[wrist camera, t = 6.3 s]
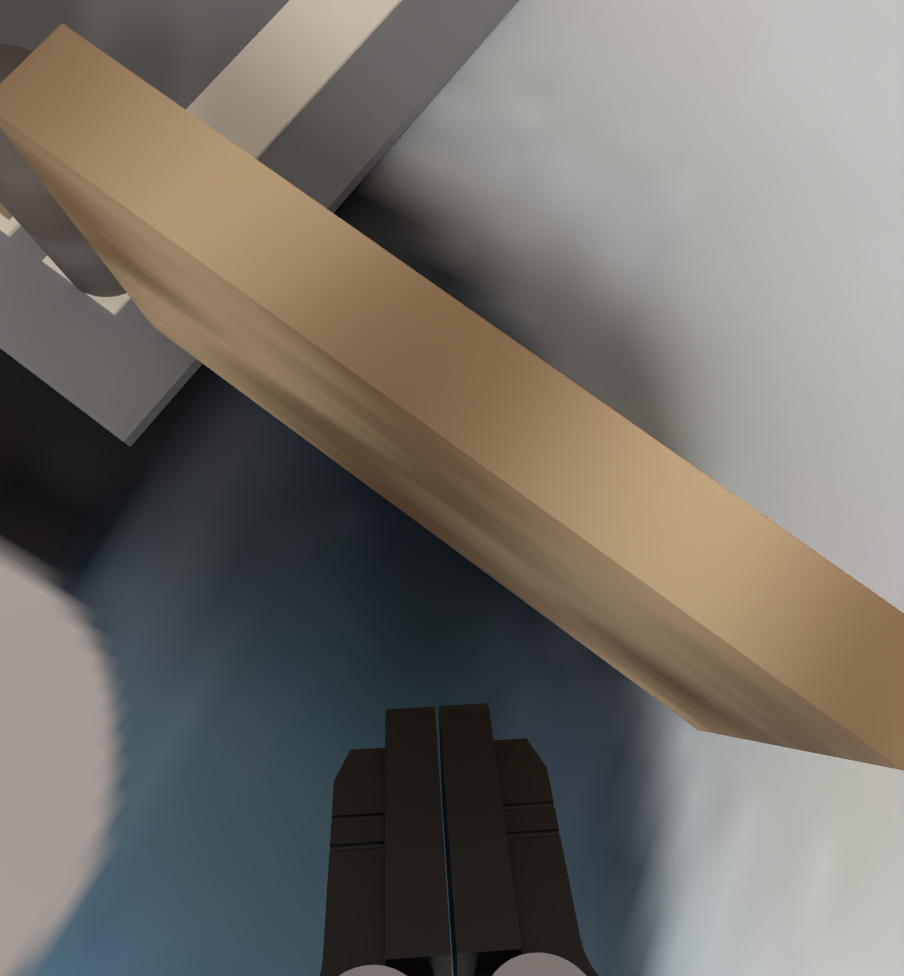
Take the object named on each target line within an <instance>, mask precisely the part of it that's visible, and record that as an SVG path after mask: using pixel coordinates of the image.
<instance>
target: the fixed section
mask: <svg viewBox="0 0 904 976" xmlns="http://www.w3.org/2000/svg"><path fill="white" fill-rule="evenodd" d="M31 53H32V51H30V50H27V49H25V48H22V47H19V46H15V45H9V44H0V83H2V82H3V81H4V80H5V79H6V78H7V77H8V76H9V75H10V74H11V73H12V72H13V71H14V70H15V69H16V68H17V67H18V66H19V65H20V64H21V63H22V62H23V61H24V60H25V59H26V58H27V57H28V56H29V55H30V54H31ZM0 214H1V215H2V216H4V217H5V218H6V219H8V220H10V219H11V218H12V217H14V218H15V219H16V220H17V222H18V223H19V224H20V225H21V226H22V227H23V228H24V229H25V231H26V232H27V233H28V234H29V235H30V236H31V237H32V238H33V240H34V241H35V242H36V243H37V244H38V245H39V246H40V247H41V249H42V250H43V251H44V252H45V253H46V254H47V255H48V256H49V258H50V259H51V260H52V261H53V262H54V263H55V264H56V265H57V267H58V268H59V269H60V270H61V271H62V272H63V273H64V274H65V276H66V277H67V278H68V279H69V280H70V281H71V282H72V283H73V285H74V286H75V287H76V288H78V289H79V290H80V291H81V292H83V293H85V294H86V293H87V294H90V295H93V296H98V297H114V296H119V295H122V294H125V293H127V292H126V291H125V290H124V288H123V287H122V286H121V284H120V283H119V282H118V281H117V279H116V278H115V277H114V275H113V274H112V273H111V271H110V270H109V269H108V268H107V266H106V265H105V264H104V262H103V261H102V260H101V258H100V257H99V256H98V255H97V253H96V252H95V251H94V249H93V248H92V247H91V245H90V244H89V243H88V242H87V240H86V239H85V238H84V236H83V235H82V234H81V232H80V231H79V230H78V229H77V227H76V226H75V225H74V223H73V222H72V221H71V219H70V218H69V217H68V216H67V214H66V213H65V212H64V210H63V209H62V208H61V206H60V205H59V204H58V202H57V201H56V200H55V199H54V197H53V196H52V195H51V193H50V192H49V191H48V189H47V188H46V187H45V186H44V184H43V183H42V182H41V180H40V179H39V178H38V176H37V175H36V174H35V173H34V171H33V170H32V169H31V167H30V166H29V165H28V163H27V162H26V161H25V160H24V158H23V157H22V156H21V154H20V153H19V152H18V150H17V149H16V148H15V147H14V145H13V144H12V143H11V141H10V140H9V139H8V137H7V136H6V135H5V133H4V132H3V131H2V130H1V128H0Z"/></svg>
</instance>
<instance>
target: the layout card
mask: <svg viewBox="0 0 904 976" xmlns="http://www.w3.org/2000/svg"><path fill="white" fill-rule="evenodd" d="M518 1H519V0H0V44H9V45H15V46H19V47H22V48H25V49H27V50H30V51H32V52H33V51H34V50H35V49H36V48H37V47H38V46H39V45H40V44H41V43H42V42H43V41H44V40H45V39H46V38H47V37H49V36H50V35H51V34H52V33H53V32H54V31H55V30H56V29H57V28H58V27H59V26H60V25H61V24H62V23H63V24H64V25H65V26H67V27H68V28H70V29H71V30H73V31H74V32H75V33H77V34H78V35H80V36H81V37H83V38H84V39H85V40H87V41H88V42H90V43H91V44H93V45H94V46H95V47H97V48H98V49H100V50H101V51H103V52H104V53H105V54H107V55H108V56H110V57H111V58H113V59H114V60H115V61H117V62H118V63H120V64H121V65H123V66H124V67H125V68H127V69H128V70H130V71H131V72H132V73H134V74H135V75H137V76H138V77H140V78H141V79H142V80H144V81H145V82H147V83H148V84H150V85H151V86H152V87H154V88H155V89H157V90H158V91H160V92H161V93H162V94H164V95H165V96H167V97H168V98H170V99H171V100H172V101H174V102H175V103H177V104H178V105H180V106H181V107H182V108H184V109H185V110H187V111H188V112H190V113H191V114H192V115H194V116H195V117H197V118H198V119H199V120H201V121H202V122H204V123H205V124H207V125H208V126H209V127H211V128H212V129H214V130H215V131H217V132H218V133H219V134H221V135H222V136H224V137H225V138H227V139H228V140H229V141H231V142H232V143H234V144H235V145H237V146H238V147H239V148H241V149H242V150H244V151H245V152H247V153H248V154H249V155H251V156H252V157H254V158H255V159H257V160H258V161H259V162H261V163H262V164H264V165H265V166H266V167H268V168H269V169H271V170H272V171H274V172H275V173H276V174H278V175H279V176H281V177H282V178H284V179H285V180H286V181H288V182H289V183H291V184H292V185H294V186H295V187H296V188H298V189H299V190H301V191H302V192H304V193H305V194H306V195H308V196H309V197H311V198H312V199H314V200H315V201H316V202H318V203H319V204H321V205H322V206H324V207H325V208H326V209H328V210H329V211H331V212H332V213H334V212H335V211H336V210H337V209H338V208H339V206H340V205H341V204H342V203H343V202H344V201H345V200H346V198H347V197H348V196H349V195H350V194H351V193H352V191H353V190H354V189H355V188H356V187H357V186H358V185H359V183H360V182H361V181H362V180H363V179H364V178H365V176H366V175H367V174H368V173H369V172H370V171H371V170H372V168H373V167H374V166H375V165H376V164H377V163H378V162H379V160H380V159H381V158H382V157H383V156H384V155H385V153H386V152H387V151H388V150H389V149H390V148H391V147H392V145H393V144H394V143H395V142H396V141H397V140H398V139H399V137H400V136H401V135H402V134H403V133H404V132H405V130H406V129H407V128H408V127H409V126H410V125H411V124H412V122H413V121H414V120H415V119H416V118H417V117H418V116H419V114H420V113H421V112H422V111H423V110H424V109H425V107H426V106H427V105H428V104H429V103H430V102H431V101H432V99H433V98H434V97H435V96H436V95H437V94H438V93H439V91H440V90H441V89H442V88H443V87H444V86H445V84H446V83H447V82H448V81H449V80H450V79H451V78H452V76H453V75H454V74H455V73H456V72H457V71H458V70H459V68H460V67H461V66H462V65H463V64H464V63H465V61H466V60H467V59H468V58H469V57H470V56H471V55H472V53H473V52H474V51H475V50H476V49H477V48H478V47H479V45H480V44H481V43H482V42H483V41H484V40H485V38H486V37H487V36H488V35H489V34H490V33H491V32H492V30H493V29H494V28H495V27H496V26H497V25H498V24H499V22H500V21H501V20H502V19H503V18H504V17H505V15H506V14H507V13H508V12H509V11H510V10H511V9H512V7H513V6H514V5H515V4H516V3H517V2H518ZM0 348H1V349H2V350H3V351H5V352H6V353H7V354H9V355H10V356H11V357H12V358H14V359H15V360H16V361H18V362H19V363H20V364H22V365H23V366H24V367H26V368H27V369H28V370H30V371H31V372H32V373H33V374H35V375H36V376H37V377H39V378H40V379H41V380H43V381H44V382H45V383H47V384H48V385H49V386H51V387H52V388H53V389H55V390H56V391H57V392H58V393H60V394H61V395H62V396H64V397H65V398H66V399H68V400H69V401H70V402H72V403H73V404H74V405H76V406H77V407H78V408H79V409H81V410H82V411H83V412H85V413H86V414H87V415H89V416H90V417H91V418H93V419H94V420H95V421H97V422H98V423H99V424H101V425H102V426H103V427H104V428H106V429H107V430H108V431H110V432H111V433H112V434H114V435H115V436H116V437H118V438H119V439H120V440H122V441H123V442H124V443H125V444H127V445H128V446H129V447H131V446H132V444H133V443H134V442H135V441H136V440H137V439H138V438H139V436H140V435H141V434H142V433H143V432H144V431H145V430H146V428H147V427H148V426H149V425H150V424H151V423H152V421H153V420H154V419H155V418H156V417H157V416H158V415H159V413H160V412H161V411H162V410H163V409H164V408H165V407H166V405H167V404H168V403H169V402H170V401H171V400H172V398H173V397H174V396H175V395H176V394H177V393H178V392H179V390H180V389H181V388H182V387H183V386H184V385H185V384H186V382H187V381H188V380H189V379H190V378H191V377H192V375H193V374H194V373H195V372H196V371H197V370H198V369H199V367H200V366H201V365H202V364H203V363H201V362H200V361H198V360H197V359H196V358H194V357H193V356H192V355H190V354H189V353H188V352H186V351H185V350H184V349H182V348H181V347H180V346H178V345H177V344H175V343H174V342H173V341H171V340H170V339H169V338H167V337H166V336H165V335H163V334H162V333H161V332H159V331H158V330H157V329H155V328H154V327H153V326H152V325H151V324H150V322H149V321H148V320H147V318H146V317H145V316H144V314H143V313H142V312H141V311H140V309H139V308H138V307H137V305H136V304H135V303H134V301H133V300H132V299H131V298H130V296H129V295H128V294H127V293H125V294H122V295H119V296H114V297H98V296H93V295H90V294H87V293H86V294H85V293H83V292H81V291H80V290H79V289H78V288H76V287H75V286H74V285H73V283H72V282H71V281H70V280H69V279H68V278H67V277H66V276H65V274H64V273H63V272H62V271H61V270H60V269H59V268H58V267H57V265H56V264H55V263H54V262H53V261H52V260H51V259H50V258H49V256H48V255H47V254H46V253H45V252H44V251H43V250H42V249H41V247H40V246H39V245H38V244H37V243H36V242H35V241H34V240H33V238H32V237H31V236H30V235H29V234H28V233H27V232H26V231H25V229H24V228H23V227H22V226H21V225H20V224H19V223H18V222H17V220H16V219H15V218H14V217H12V218H11V219H10V220H8V219H6V218H5V217H4V216H2V215H1V214H0Z"/></svg>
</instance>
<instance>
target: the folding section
mask: <svg viewBox="0 0 904 976" xmlns="http://www.w3.org/2000/svg"><path fill="white" fill-rule="evenodd" d="M0 128H1V130H2V131H3V132H4V133H5V135H6V136H7V137H8V139H9V140H10V141H11V143H12V144H13V145H14V147H15V148H16V149H17V150H18V152H19V153H20V154H21V156H22V157H23V158H24V160H25V161H26V162H27V163H28V165H29V166H30V167H31V169H32V170H33V171H34V173H35V174H36V175H37V176H38V178H39V179H40V180H41V182H42V183H43V184H44V186H45V187H46V188H47V189H48V191H49V192H50V193H51V195H52V196H53V197H54V199H55V200H56V201H57V202H58V204H59V205H60V206H61V208H62V209H63V210H64V212H65V213H66V214H67V216H68V217H69V218H70V219H71V221H72V222H73V223H74V225H75V226H76V227H77V229H78V230H79V231H80V232H81V234H82V235H83V236H84V238H85V239H86V240H87V242H88V243H89V244H90V245H91V247H92V248H93V249H94V251H95V252H96V253H97V255H98V256H99V257H100V258H101V260H102V261H103V262H104V264H105V265H106V266H107V268H108V269H109V270H110V271H111V273H112V274H113V275H114V277H115V278H116V279H117V281H118V282H119V283H120V284H121V286H122V287H123V288H124V290H125V291H126V292H127V294H128V295H129V296H130V298H131V299H132V300H133V301H134V303H135V304H136V305H137V307H138V308H139V309H140V311H141V312H142V313H143V314H144V316H145V317H146V318H147V320H148V321H149V322H150V324H151V325H152V326H153V327H154V328H155V329H157V330H158V331H159V332H161V333H162V334H163V335H165V336H166V337H167V338H169V339H170V340H171V341H173V342H174V343H175V344H177V345H178V346H180V347H181V348H182V349H184V350H185V351H186V352H188V353H189V354H190V355H192V356H193V357H194V358H196V359H197V360H198V361H200V362H201V363H203V364H204V365H205V366H207V367H208V368H209V369H211V370H212V371H213V372H215V373H216V374H217V375H219V376H220V377H221V378H223V379H224V380H226V381H227V382H228V383H230V384H231V385H232V386H234V387H235V388H236V389H238V390H239V391H240V392H242V393H243V394H244V395H246V396H247V397H248V398H250V399H251V400H253V401H254V402H255V403H257V404H258V405H259V406H261V407H262V408H263V409H265V410H266V411H267V412H269V413H270V414H271V415H273V416H274V417H276V418H277V419H278V420H280V421H281V422H282V423H284V424H285V425H286V426H288V427H289V428H290V429H292V430H293V431H294V432H296V433H297V434H299V435H300V436H301V437H303V438H304V439H305V440H307V441H308V442H309V443H311V444H312V445H313V446H315V447H316V448H317V449H319V450H320V451H322V452H323V453H324V454H326V455H327V456H328V457H330V458H331V459H332V460H334V461H335V462H336V463H338V464H339V465H340V466H342V467H343V468H345V469H346V470H347V471H349V472H350V473H351V474H353V475H354V476H355V477H357V478H358V479H359V480H361V481H362V482H363V483H365V484H366V485H368V486H369V487H370V488H372V489H373V490H374V491H376V492H377V493H378V494H380V495H381V496H382V497H384V498H385V499H386V500H388V501H389V502H391V503H392V504H393V505H395V506H396V507H397V508H399V509H400V510H401V511H403V512H404V513H405V514H407V515H408V516H409V517H411V518H412V519H414V520H415V521H416V522H418V523H419V524H420V525H422V526H423V527H424V528H426V529H427V530H428V531H430V532H431V533H432V534H434V535H435V536H437V537H438V538H439V539H441V540H442V541H443V542H445V543H446V544H447V545H449V546H450V547H451V548H453V549H454V550H455V551H457V552H458V553H459V554H461V555H462V556H464V557H465V558H466V559H468V560H469V561H470V562H472V563H473V564H474V565H476V566H477V567H478V568H480V569H481V570H482V571H484V572H485V573H487V574H488V575H489V576H491V577H492V578H493V579H495V580H496V581H497V582H499V583H500V584H501V585H503V586H504V587H505V588H507V589H508V590H510V591H511V592H512V593H514V594H515V595H516V596H518V597H519V598H520V599H522V600H523V601H524V602H526V603H527V604H528V605H530V606H531V607H533V608H534V609H535V610H537V611H538V612H539V613H541V614H542V615H543V616H545V617H546V618H547V619H549V620H550V621H551V622H553V623H554V624H556V625H557V626H558V627H560V628H561V629H562V630H564V631H565V632H566V633H568V634H569V635H570V636H572V637H573V638H574V639H576V640H577V641H579V642H580V643H581V644H583V645H584V646H585V647H587V648H588V649H589V650H591V651H592V652H593V653H595V654H596V655H597V656H599V657H600V658H602V659H603V660H604V661H606V662H607V663H608V664H610V665H611V666H612V667H614V668H615V669H616V670H618V671H619V672H620V673H622V674H623V675H625V676H626V677H627V678H629V679H630V680H631V681H633V682H634V683H635V684H637V685H638V686H639V687H641V688H642V689H643V690H645V691H646V692H648V693H649V694H650V695H652V696H653V697H654V698H656V699H657V700H658V701H660V702H661V703H662V704H664V705H665V706H666V707H668V708H669V709H671V710H672V711H673V712H675V713H676V714H677V715H679V716H680V717H681V718H683V719H684V720H685V721H687V722H688V723H689V724H691V725H692V726H693V727H695V728H696V729H698V730H701V731H706V732H711V733H716V734H721V735H727V736H732V737H737V738H742V739H747V740H752V741H757V742H762V743H767V744H772V745H778V746H783V747H788V748H793V749H798V750H803V751H808V752H813V753H818V754H824V755H829V756H834V757H839V758H844V759H849V760H854V761H859V762H864V763H869V764H875V765H880V766H885V767H890V768H895V769H900V770H904V613H902V612H901V611H899V610H898V609H897V608H895V607H894V606H892V605H891V604H889V603H888V602H887V601H885V600H884V599H882V598H881V597H879V596H878V595H877V594H875V593H874V592H872V591H871V590H870V589H868V588H867V587H865V586H864V585H862V584H861V583H860V582H858V581H857V580H855V579H854V578H852V577H851V576H850V575H848V574H847V573H845V572H844V571H842V570H841V569H840V568H838V567H837V566H835V565H834V564H832V563H831V562H830V561H828V560H827V559H825V558H824V557H822V556H821V555H820V554H818V553H817V552H815V551H814V550H812V549H811V548H810V547H808V546H807V545H805V544H804V543H803V542H801V541H800V540H798V539H797V538H795V537H794V536H793V535H791V534H790V533H788V532H787V531H785V530H784V529H783V528H781V527H780V526H778V525H777V524H775V523H774V522H773V521H771V520H770V519H768V518H767V517H765V516H764V515H763V514H761V513H760V512H758V511H757V510H755V509H754V508H753V507H751V506H750V505H748V504H747V503H745V502H744V501H743V500H741V499H740V498H738V497H737V496H736V495H734V494H733V493H731V492H730V491H728V490H727V489H726V488H724V487H723V486H721V485H720V484H718V483H717V482H716V481H714V480H713V479H711V478H710V477H708V476H707V475H706V474H704V473H703V472H701V471H700V470H698V469H697V468H696V467H694V466H693V465H691V464H690V463H688V462H687V461H686V460H684V459H683V458H681V457H680V456H678V455H677V454H676V453H674V452H673V451H671V450H670V449H669V448H667V447H666V446H664V445H663V444H661V443H660V442H659V441H657V440H656V439H654V438H653V437H651V436H650V435H649V434H647V433H646V432H644V431H643V430H641V429H640V428H639V427H637V426H636V425H634V424H633V423H631V422H630V421H629V420H627V419H626V418H624V417H623V416H621V415H620V414H619V413H617V412H616V411H614V410H613V409H611V408H610V407H609V406H607V405H606V404H604V403H603V402H602V401H600V400H599V399H597V398H596V397H594V396H593V395H592V394H590V393H589V392H587V391H586V390H584V389H583V388H582V387H580V386H579V385H577V384H576V383H574V382H573V381H572V380H570V379H569V378H567V377H566V376H564V375H563V374H562V373H560V372H559V371H557V370H556V369H554V368H553V367H552V366H550V365H549V364H547V363H546V362H544V361H543V360H542V359H540V358H539V357H537V356H536V355H535V354H533V353H532V352H530V351H529V350H527V349H526V348H525V347H523V346H522V345H520V344H519V343H517V342H516V341H515V340H513V339H512V338H510V337H509V336H507V335H506V334H505V333H503V332H502V331H500V330H499V329H497V328H496V327H495V326H493V325H492V324H490V323H489V322H487V321H486V320H485V319H483V318H482V317H480V316H479V315H477V314H476V313H475V312H473V311H472V310H470V309H469V308H467V307H466V306H465V305H463V304H462V303H460V302H459V301H458V300H456V299H455V298H453V297H452V296H450V295H449V294H448V293H446V292H445V291H443V290H442V289H440V288H439V287H438V286H436V285H435V284H433V283H432V282H430V281H429V280H428V279H426V278H425V277H423V276H422V275H420V274H419V273H418V272H416V271H415V270H413V269H412V268H410V267H409V266H408V265H406V264H405V263H403V262H402V261H400V260H399V259H398V258H396V257H395V256H393V255H392V254H391V253H389V252H388V251H386V250H385V249H383V248H382V247H381V246H379V245H378V244H376V243H375V242H373V241H372V240H371V239H369V238H368V237H366V236H365V235H363V234H362V233H361V232H359V231H358V230H356V229H355V228H353V227H352V226H351V225H349V224H348V223H346V222H345V221H343V220H342V219H341V218H339V217H338V216H336V215H335V214H333V213H332V212H331V211H329V210H328V209H326V208H325V207H324V206H322V205H321V204H319V203H318V202H316V201H315V200H314V199H312V198H311V197H309V196H308V195H306V194H305V193H304V192H302V191H301V190H299V189H298V188H296V187H295V186H294V185H292V184H291V183H289V182H288V181H286V180H285V179H284V178H282V177H281V176H279V175H278V174H276V173H275V172H274V171H272V170H271V169H269V168H268V167H266V166H265V165H264V164H262V163H261V162H259V161H258V160H257V159H255V158H254V157H252V156H251V155H249V154H248V153H247V152H245V151H244V150H242V149H241V148H239V147H238V146H237V145H235V144H234V143H232V142H231V141H229V140H228V139H227V138H225V137H224V136H222V135H221V134H219V133H218V132H217V131H215V130H214V129H212V128H211V127H209V126H208V125H207V124H205V123H204V122H202V121H201V120H199V119H198V118H197V117H195V116H194V115H192V114H191V113H190V112H188V111H187V110H185V109H184V108H182V107H181V106H180V105H178V104H177V103H175V102H174V101H172V100H171V99H170V98H168V97H167V96H165V95H164V94H162V93H161V92H160V91H158V90H157V89H155V88H154V87H152V86H151V85H150V84H148V83H147V82H145V81H144V80H142V79H141V78H140V77H138V76H137V75H135V74H134V73H132V72H131V71H130V70H128V69H127V68H125V67H124V66H123V65H121V64H120V63H118V62H117V61H115V60H114V59H113V58H111V57H110V56H108V55H107V54H105V53H104V52H103V51H101V50H100V49H98V48H97V47H95V46H94V45H93V44H91V43H90V42H88V41H87V40H85V39H84V38H83V37H81V36H80V35H78V34H77V33H75V32H74V31H73V30H71V29H70V28H68V27H67V26H65V25H64V24H63V23H62V24H61V25H60V26H59V27H58V28H57V29H56V30H55V31H54V32H53V33H52V34H51V35H50V36H49V37H47V38H46V39H45V40H44V41H43V42H42V43H41V44H40V45H39V46H38V47H37V48H36V49H35V50H34V51H33V52H32V53H31V54H30V55H29V56H28V57H27V58H26V59H25V60H24V61H23V62H22V63H21V64H20V65H19V66H18V67H17V68H16V69H15V70H14V71H13V72H12V73H11V74H10V75H9V76H8V77H7V78H6V79H5V80H4V81H3V82H2V83H0Z"/></svg>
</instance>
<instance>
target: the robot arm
mask: <svg viewBox="0 0 904 976" xmlns="http://www.w3.org/2000/svg"><path fill="white" fill-rule="evenodd" d="M439 731H440V762H441V787H442V806H443V822H444V837H445V852H446V867H447V882H448V897H449V912H450V927H451V942H452V957H453V972H454V976H598V975H597V973H596V972H595V971H594V969H593V968H592V966H591V964H590V963H589V961H588V959H587V957H586V955H585V952H584V950H583V946H582V943H581V939H580V934H579V929H578V924H577V919H576V914H575V909H574V904H573V899H572V894H571V889H570V884H569V879H568V874H567V869H566V864H565V859H564V853H563V848H562V843H561V838H560V836H559V828H558V823H557V818H556V813H555V808H554V806H553V798H552V793H551V788H550V783H549V778H548V773H547V768H546V766H545V764H544V763H543V762H542V760H541V759H540V757H539V756H538V755H537V753H536V752H535V750H534V749H533V747H532V746H531V745H530V743H529V742H528V740H527V739H512V740H496V741H493V735H492V727H491V720H490V713H489V707H488V704H487V703H483V704H467V705H450V706H439ZM320 976H451V949H450V933H449V918H448V903H447V887H446V872H445V857H444V841H443V826H442V811H441V795H440V780H439V764H438V749H437V734H436V718H435V707H422V708H405V709H389V710H386V721H385V748H373V749H357V750H350V752H349V754H348V756H347V758H346V760H345V761H344V763H343V765H342V767H341V769H340V771H339V773H338V775H337V777H336V778H335V780H334V790H333V806H332V823H331V838H330V854H329V870H328V886H327V902H326V918H325V934H324V950H323V962H322V969H321V973H320Z"/></svg>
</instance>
